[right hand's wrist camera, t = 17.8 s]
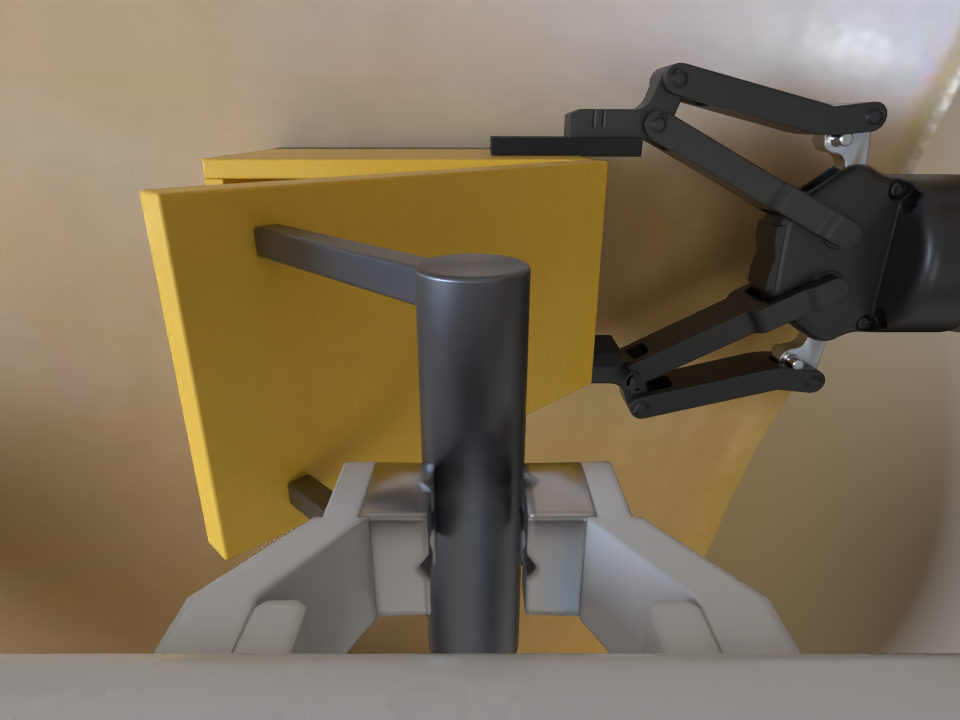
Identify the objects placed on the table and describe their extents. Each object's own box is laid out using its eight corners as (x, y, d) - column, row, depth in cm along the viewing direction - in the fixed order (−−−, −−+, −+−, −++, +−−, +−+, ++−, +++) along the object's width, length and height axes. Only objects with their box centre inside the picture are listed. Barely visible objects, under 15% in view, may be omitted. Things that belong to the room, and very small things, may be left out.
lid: (207, 543, 16) (419, 775, 10) (137, 189, 13) (390, 246, 7) (571, 376, 27) (774, 445, 21) (584, 159, 24) (831, 172, 18)
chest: (297, 308, 37) (234, 376, 27) (279, 147, 33) (200, 158, 24) (549, 307, 37) (579, 374, 27) (557, 148, 34) (594, 159, 24)
